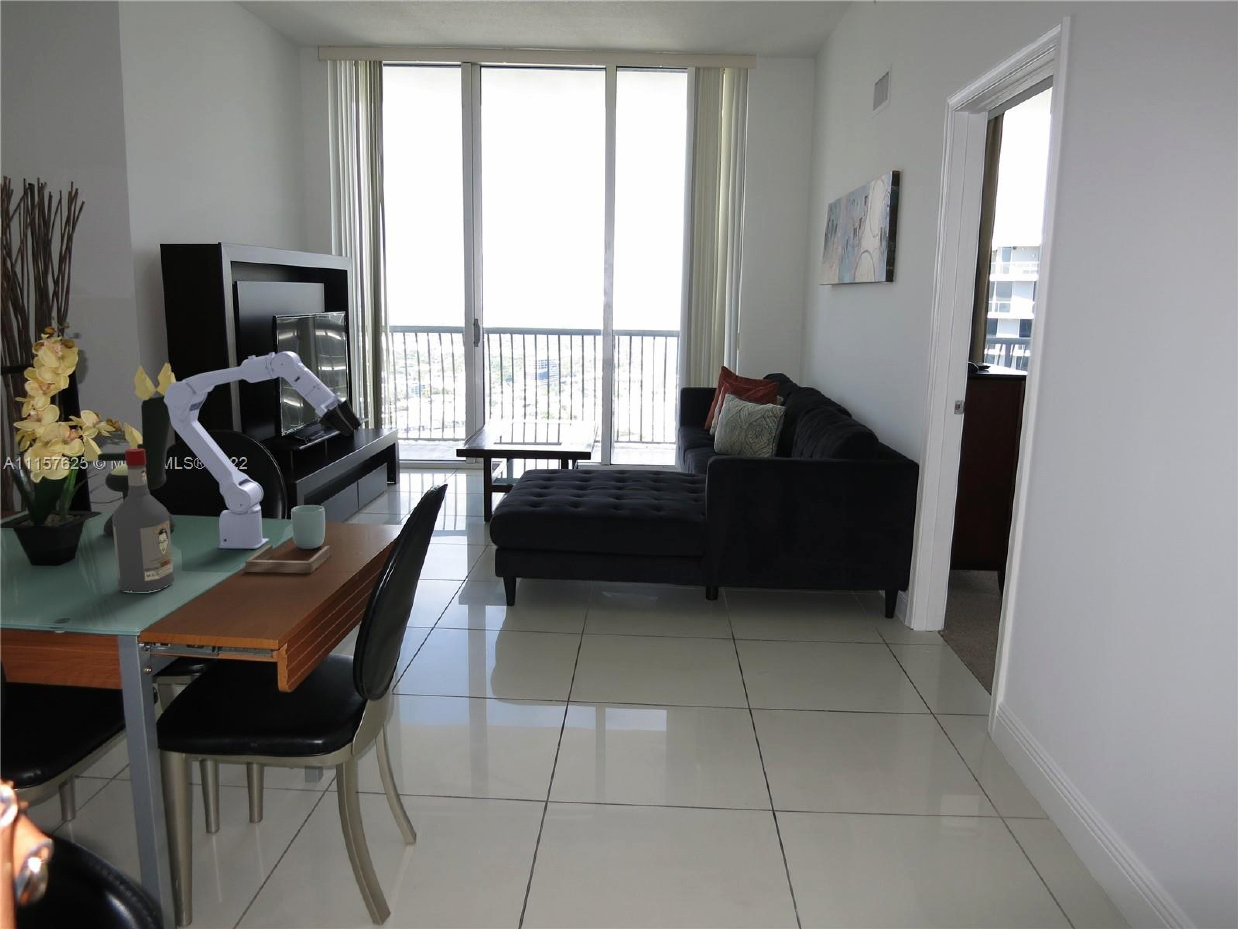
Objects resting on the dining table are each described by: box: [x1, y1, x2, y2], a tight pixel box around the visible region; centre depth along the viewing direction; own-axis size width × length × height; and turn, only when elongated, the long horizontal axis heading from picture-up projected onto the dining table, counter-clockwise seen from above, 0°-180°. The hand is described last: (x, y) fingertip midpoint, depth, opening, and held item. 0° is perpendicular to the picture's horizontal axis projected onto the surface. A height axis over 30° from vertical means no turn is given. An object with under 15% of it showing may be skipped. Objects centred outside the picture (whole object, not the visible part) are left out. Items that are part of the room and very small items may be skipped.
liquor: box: [112, 448, 175, 592], centre depth 185 cm, size 9×9×30 cm
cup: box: [290, 504, 326, 550], centre depth 218 cm, size 8×8×10 cm
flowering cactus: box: [83, 362, 177, 539], centre depth 225 cm, size 19×22×45 cm
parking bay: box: [244, 544, 331, 574], centre depth 206 cm, size 15×14×2 cm
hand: (354, 430), depth 216 cm, fingers open, 7 cm apart
